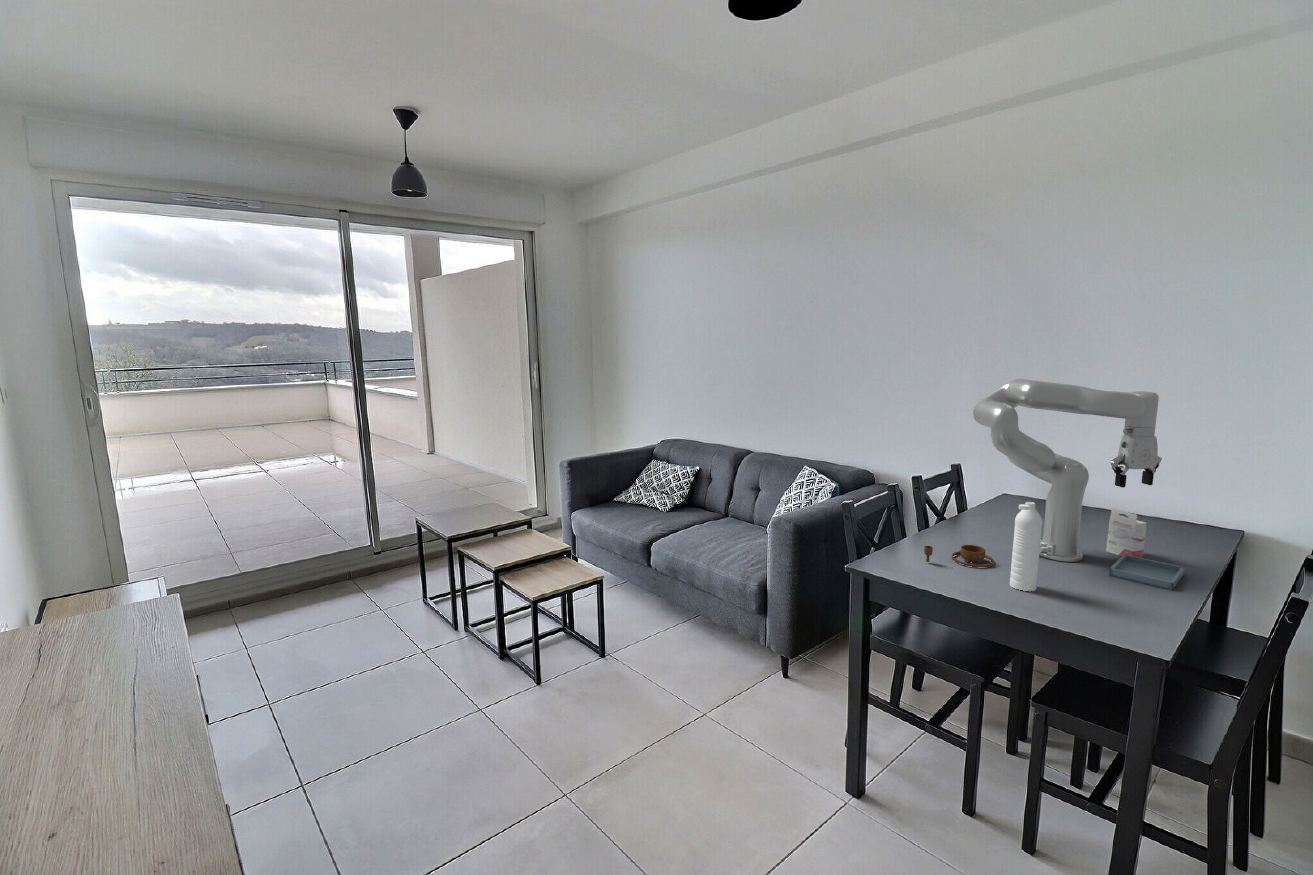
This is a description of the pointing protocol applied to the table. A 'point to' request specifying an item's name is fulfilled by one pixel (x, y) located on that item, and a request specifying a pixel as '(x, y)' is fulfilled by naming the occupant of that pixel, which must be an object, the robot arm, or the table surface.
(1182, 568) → the tray
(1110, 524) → the ink cartridge box
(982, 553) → the place setting
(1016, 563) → the water bottle
